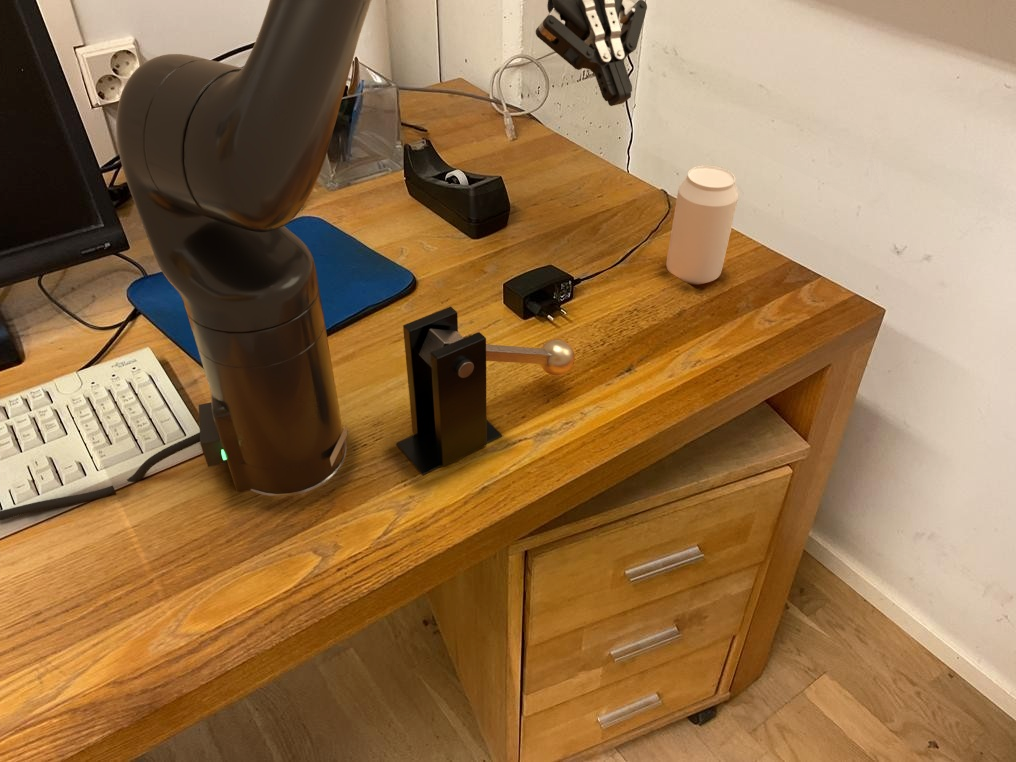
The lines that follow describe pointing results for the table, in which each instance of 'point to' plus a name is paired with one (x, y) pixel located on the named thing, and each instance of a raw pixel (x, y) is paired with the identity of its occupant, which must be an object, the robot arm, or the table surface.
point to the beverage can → (702, 224)
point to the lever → (508, 352)
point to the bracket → (445, 395)
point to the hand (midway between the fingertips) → (621, 101)
